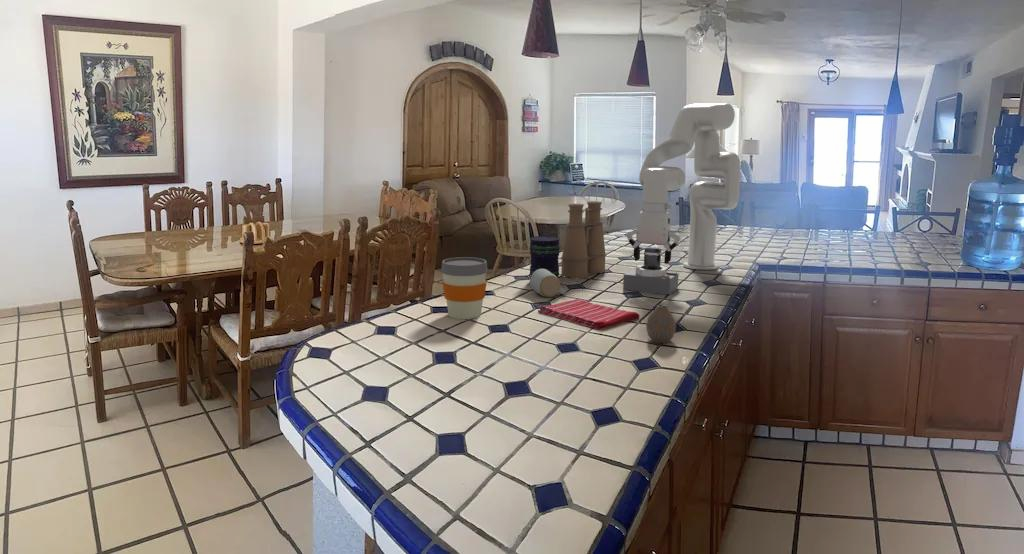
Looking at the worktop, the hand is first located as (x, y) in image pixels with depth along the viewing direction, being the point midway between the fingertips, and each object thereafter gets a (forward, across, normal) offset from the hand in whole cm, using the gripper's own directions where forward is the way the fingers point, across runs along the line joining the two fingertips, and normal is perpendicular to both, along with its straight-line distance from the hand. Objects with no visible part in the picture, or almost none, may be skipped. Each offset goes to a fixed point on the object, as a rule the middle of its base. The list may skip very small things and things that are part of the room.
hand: (651, 261), depth 216 cm
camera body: (+9, 0, 0) cm, 9 cm away
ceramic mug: (+9, +26, +22) cm, 35 cm away
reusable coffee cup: (+9, +36, +55) cm, 66 cm away
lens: (+4, 0, 0) cm, 4 cm away
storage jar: (+9, +34, +8) cm, 36 cm away
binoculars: (+9, +28, -12) cm, 32 cm away
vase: (+9, -18, +52) cm, 56 cm away
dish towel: (+10, +6, +39) cm, 41 cm away
